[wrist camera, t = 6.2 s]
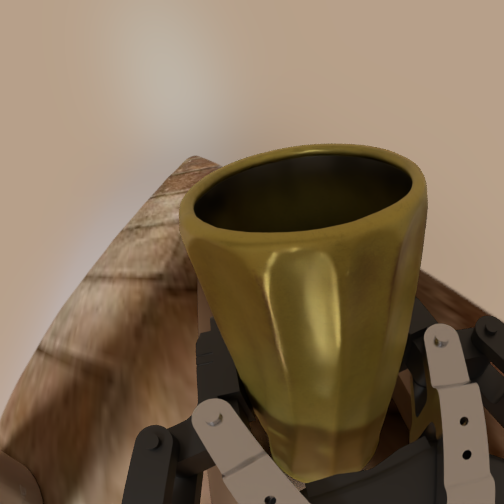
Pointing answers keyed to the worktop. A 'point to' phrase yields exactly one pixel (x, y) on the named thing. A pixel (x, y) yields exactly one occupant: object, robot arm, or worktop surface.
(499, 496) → the robot arm
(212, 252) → the vase
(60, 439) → the worktop surface
